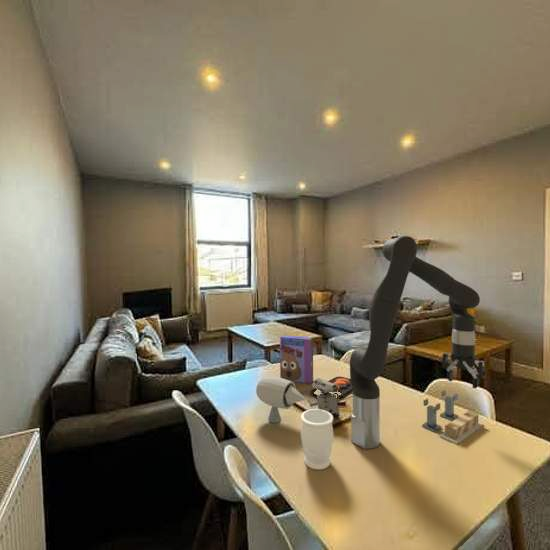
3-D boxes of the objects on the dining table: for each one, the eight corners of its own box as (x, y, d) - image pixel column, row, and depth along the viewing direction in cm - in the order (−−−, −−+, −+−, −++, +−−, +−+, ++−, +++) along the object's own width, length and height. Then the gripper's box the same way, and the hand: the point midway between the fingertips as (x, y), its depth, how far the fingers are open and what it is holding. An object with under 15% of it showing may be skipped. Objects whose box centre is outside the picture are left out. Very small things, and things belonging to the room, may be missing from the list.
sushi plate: (337, 378, 173) (337, 372, 172) (391, 393, 153) (391, 385, 153) (307, 396, 151) (307, 388, 151) (366, 415, 131) (366, 406, 131)
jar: (333, 474, 93) (332, 426, 93) (299, 470, 96) (298, 422, 95) (333, 453, 104) (333, 409, 103) (303, 450, 106) (302, 407, 105)
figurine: (324, 408, 137) (324, 374, 136) (342, 419, 127) (342, 383, 126) (307, 413, 132) (307, 378, 132) (325, 425, 122) (324, 387, 122)
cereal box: (280, 379, 171) (279, 336, 170) (283, 376, 175) (283, 334, 174) (310, 384, 164) (310, 339, 163) (313, 381, 168) (312, 337, 168)
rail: (455, 439, 110) (455, 429, 110) (444, 435, 113) (444, 425, 113) (478, 423, 121) (478, 414, 121) (468, 419, 124) (468, 410, 124)
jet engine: (272, 438, 113) (272, 391, 113) (252, 414, 131) (252, 374, 131) (307, 428, 120) (307, 384, 119) (283, 407, 138) (283, 368, 137)
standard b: (453, 421, 124) (453, 396, 124) (439, 416, 128) (439, 392, 128) (458, 417, 127) (459, 393, 127) (445, 412, 131) (445, 389, 131)
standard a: (435, 432, 116) (435, 406, 116) (421, 426, 120) (421, 401, 120) (441, 428, 119) (442, 402, 119) (428, 422, 123) (428, 397, 123)
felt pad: (456, 444, 108) (456, 442, 108) (439, 436, 113) (439, 435, 113) (483, 424, 121) (483, 423, 121) (466, 418, 126) (466, 417, 126)
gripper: (438, 339, 120) (438, 380, 120) (480, 347, 108) (479, 393, 109) (448, 336, 124) (447, 376, 124) (489, 344, 112) (488, 388, 113)
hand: (462, 384), depth 116 cm, fingers open, 8 cm apart
